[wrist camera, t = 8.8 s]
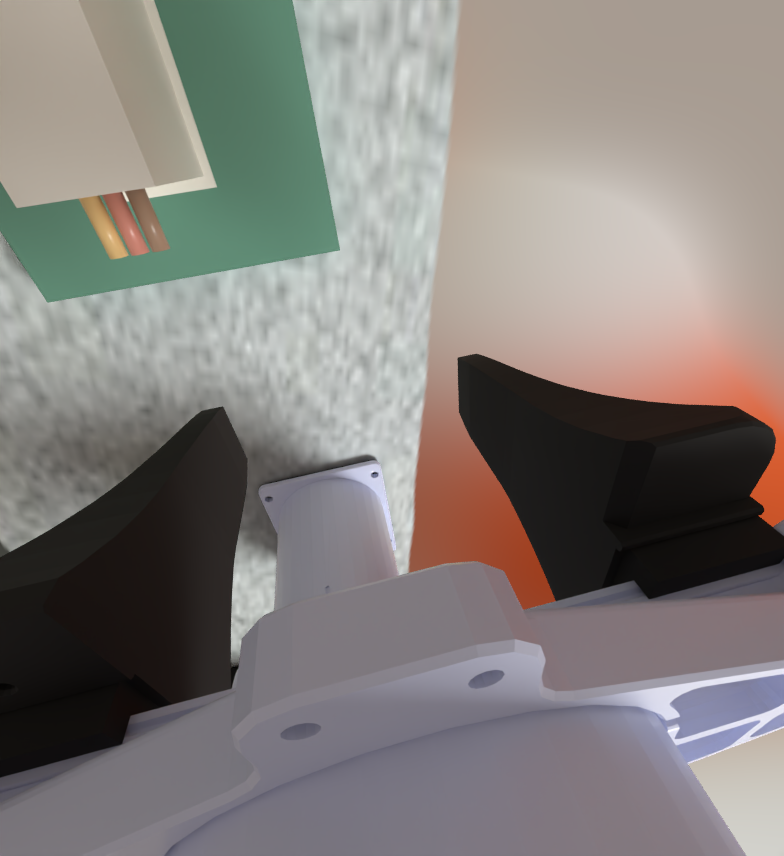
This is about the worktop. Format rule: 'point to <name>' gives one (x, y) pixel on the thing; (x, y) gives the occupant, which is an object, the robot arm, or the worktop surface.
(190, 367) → the worktop surface
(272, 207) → the circuit board
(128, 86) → the block
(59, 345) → the worktop surface
